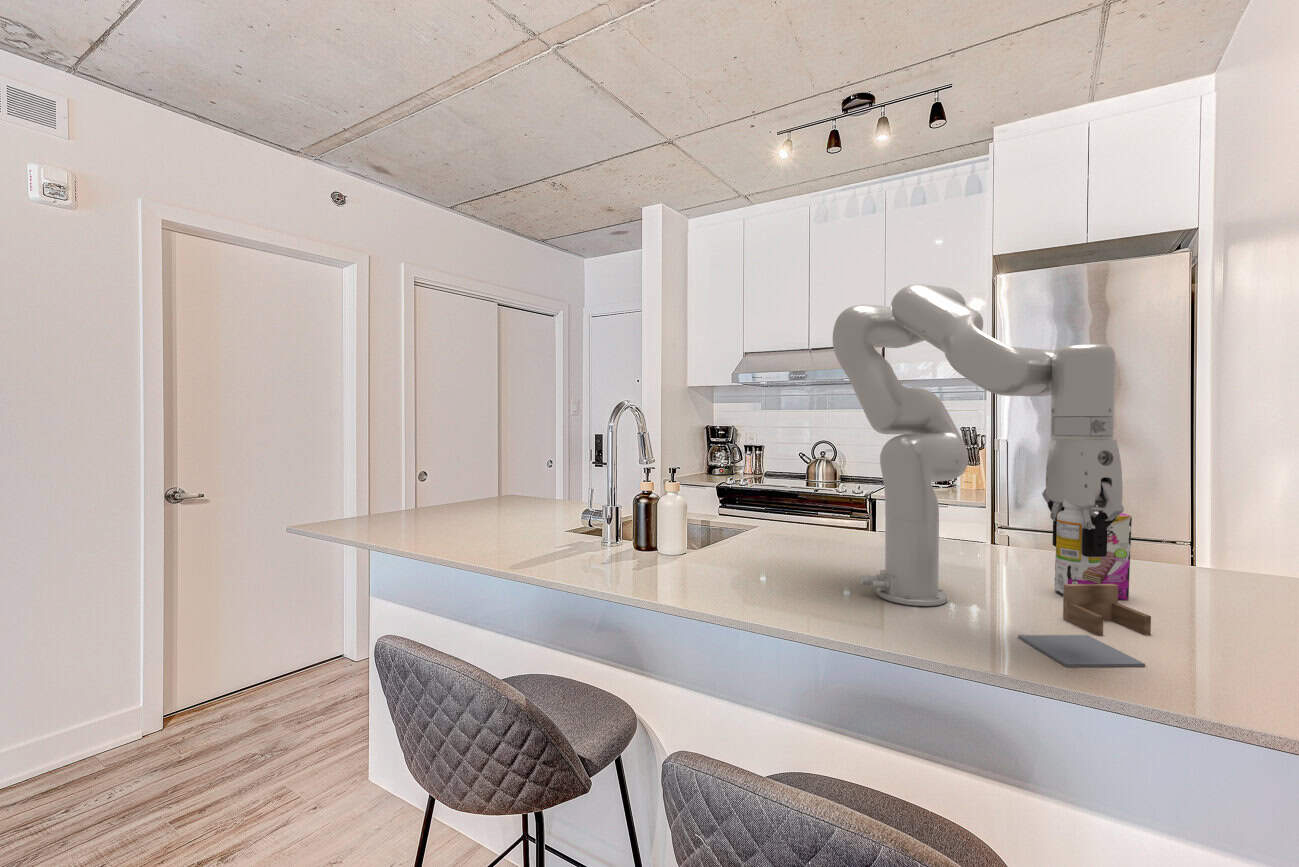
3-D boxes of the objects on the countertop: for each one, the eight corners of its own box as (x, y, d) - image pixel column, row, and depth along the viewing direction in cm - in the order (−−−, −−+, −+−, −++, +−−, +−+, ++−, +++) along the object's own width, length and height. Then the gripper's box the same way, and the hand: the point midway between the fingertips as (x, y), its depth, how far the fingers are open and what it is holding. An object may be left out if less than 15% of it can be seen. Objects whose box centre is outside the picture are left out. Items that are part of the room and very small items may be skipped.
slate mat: (1066, 667, 84) (1066, 664, 84) (1017, 637, 95) (1018, 635, 95) (1145, 666, 84) (1145, 663, 84) (1087, 637, 95) (1087, 635, 95)
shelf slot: (1096, 635, 96) (1097, 597, 95) (1063, 618, 103) (1063, 584, 103) (1150, 634, 96) (1151, 597, 95) (1112, 618, 103) (1113, 583, 103)
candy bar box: (1068, 599, 114) (1069, 513, 114) (1053, 591, 119) (1054, 509, 119) (1131, 601, 113) (1133, 514, 113) (1113, 593, 118) (1115, 510, 118)
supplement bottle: (1092, 560, 91) (1093, 496, 90) (1106, 569, 85) (1108, 501, 85) (1050, 557, 92) (1052, 494, 92) (1062, 566, 87) (1064, 499, 87)
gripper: (1156, 431, 80) (1152, 566, 80) (1066, 427, 97) (1063, 539, 97) (1099, 431, 80) (1096, 566, 80) (1019, 427, 97) (1017, 539, 97)
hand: (1078, 550), depth 89 cm, fingers closed on supplement bottle, 5 cm apart
